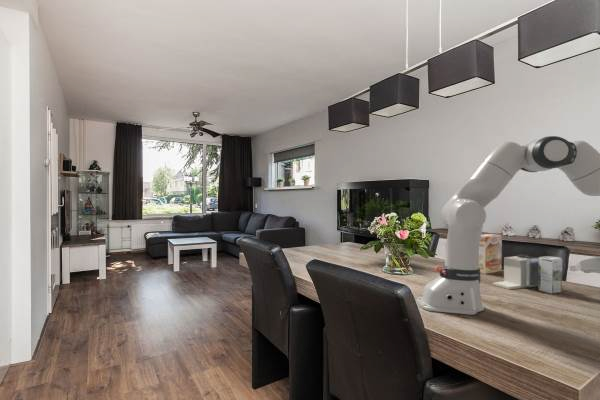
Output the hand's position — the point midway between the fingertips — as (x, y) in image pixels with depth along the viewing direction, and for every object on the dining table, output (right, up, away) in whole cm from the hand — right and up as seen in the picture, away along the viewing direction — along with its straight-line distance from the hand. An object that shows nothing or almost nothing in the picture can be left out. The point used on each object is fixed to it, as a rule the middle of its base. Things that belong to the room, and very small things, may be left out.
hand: (577, 269), depth 124 cm
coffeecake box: (-4, -12, +52) cm, 53 cm away
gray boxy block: (-3, -10, +23) cm, 25 cm away
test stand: (-4, -12, +25) cm, 28 cm away
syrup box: (0, -12, +14) cm, 18 cm away
